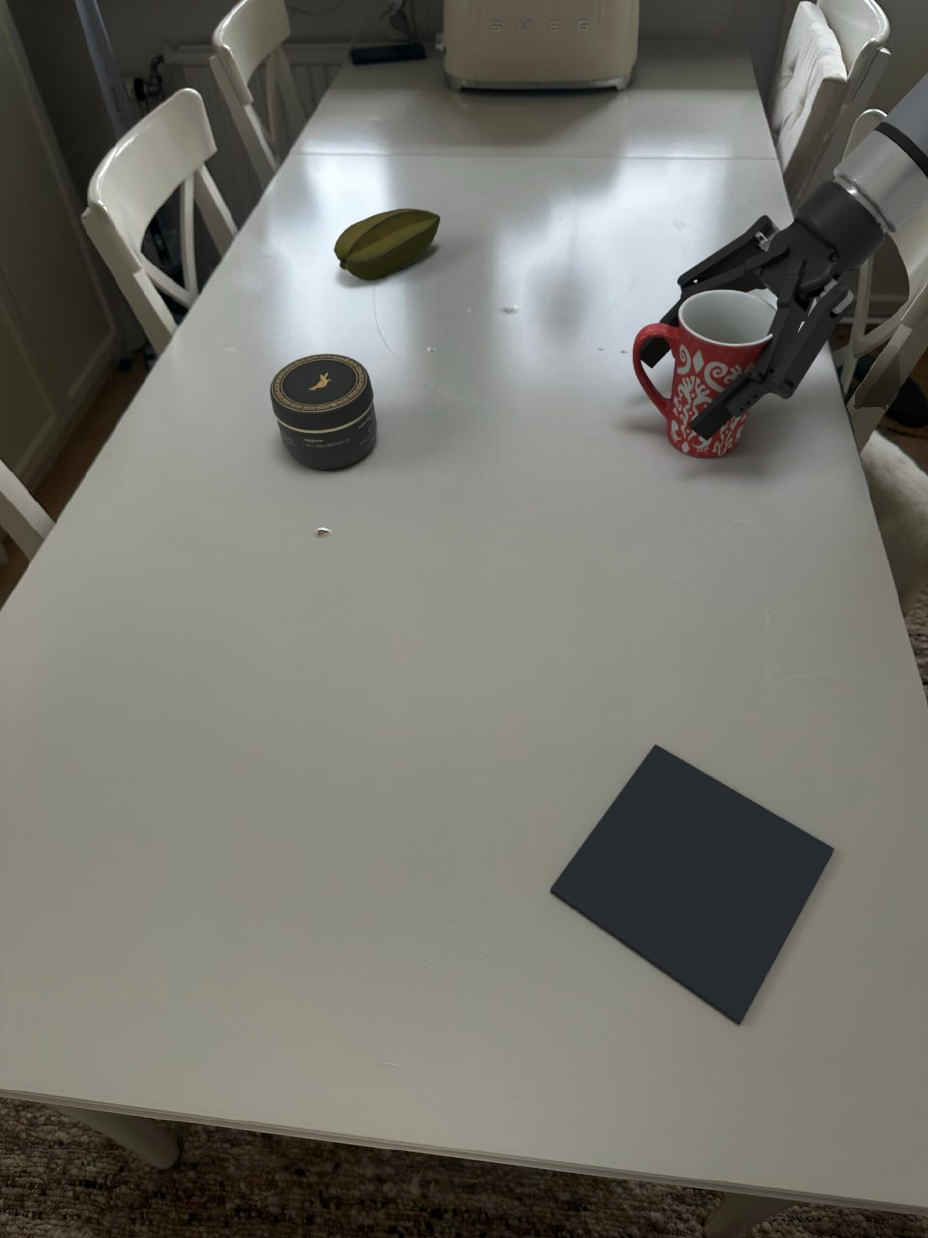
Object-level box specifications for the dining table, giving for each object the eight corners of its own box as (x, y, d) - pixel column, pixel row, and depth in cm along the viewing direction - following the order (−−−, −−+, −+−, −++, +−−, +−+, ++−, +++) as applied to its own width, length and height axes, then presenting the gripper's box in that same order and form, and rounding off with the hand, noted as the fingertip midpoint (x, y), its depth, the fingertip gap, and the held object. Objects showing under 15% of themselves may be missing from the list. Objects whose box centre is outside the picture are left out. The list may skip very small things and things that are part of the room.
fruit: (355, 242, 116) (348, 193, 111) (443, 246, 114) (440, 195, 109) (334, 288, 109) (325, 237, 104) (428, 292, 107) (423, 241, 102)
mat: (832, 852, 60) (834, 848, 59) (738, 1025, 53) (740, 1023, 52) (654, 747, 65) (655, 743, 65) (549, 892, 59) (550, 888, 58)
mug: (751, 412, 90) (782, 292, 79) (747, 469, 84) (779, 349, 74) (629, 398, 92) (643, 280, 82) (617, 453, 87) (631, 334, 76)
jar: (384, 411, 93) (374, 349, 87) (376, 474, 86) (365, 412, 80) (292, 414, 93) (276, 352, 87) (277, 476, 87) (259, 414, 81)
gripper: (963, 299, 69) (748, 487, 79) (804, 174, 84) (639, 346, 93) (930, 248, 64) (705, 456, 74) (767, 125, 79) (597, 312, 88)
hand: (668, 395), depth 84 cm, fingers open, 11 cm apart
